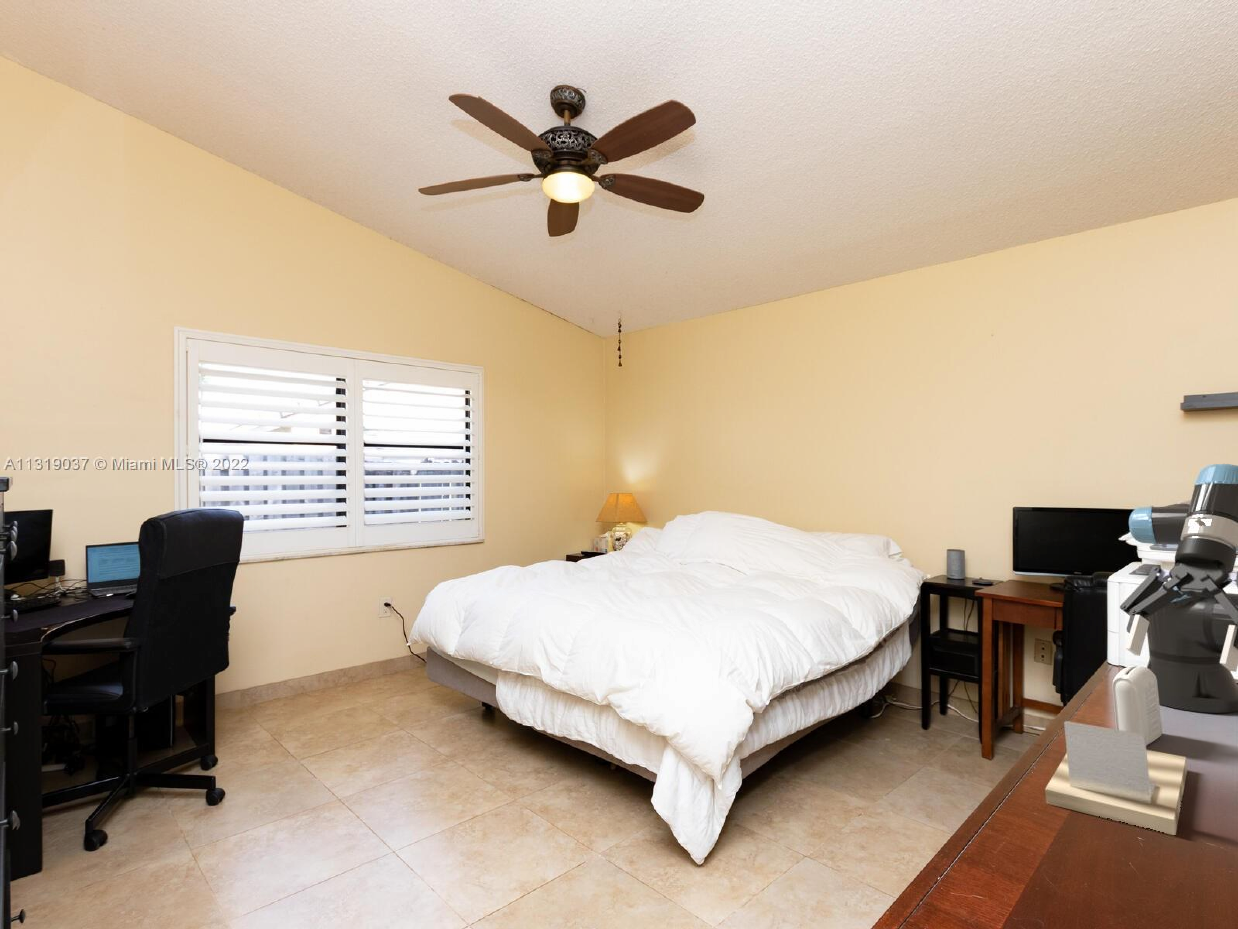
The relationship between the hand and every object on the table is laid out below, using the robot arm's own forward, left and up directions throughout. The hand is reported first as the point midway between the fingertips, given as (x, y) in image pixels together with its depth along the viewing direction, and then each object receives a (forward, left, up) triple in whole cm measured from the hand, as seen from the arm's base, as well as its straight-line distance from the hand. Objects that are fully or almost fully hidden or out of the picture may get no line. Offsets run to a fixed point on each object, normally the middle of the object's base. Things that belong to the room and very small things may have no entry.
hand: (1177, 659), depth 104 cm
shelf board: (+20, +1, -15) cm, 25 cm away
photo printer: (-1, -7, -16) cm, 17 cm away
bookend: (+25, +4, -13) cm, 29 cm away
